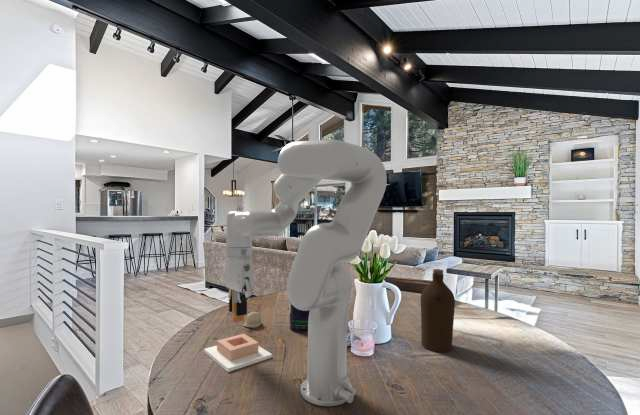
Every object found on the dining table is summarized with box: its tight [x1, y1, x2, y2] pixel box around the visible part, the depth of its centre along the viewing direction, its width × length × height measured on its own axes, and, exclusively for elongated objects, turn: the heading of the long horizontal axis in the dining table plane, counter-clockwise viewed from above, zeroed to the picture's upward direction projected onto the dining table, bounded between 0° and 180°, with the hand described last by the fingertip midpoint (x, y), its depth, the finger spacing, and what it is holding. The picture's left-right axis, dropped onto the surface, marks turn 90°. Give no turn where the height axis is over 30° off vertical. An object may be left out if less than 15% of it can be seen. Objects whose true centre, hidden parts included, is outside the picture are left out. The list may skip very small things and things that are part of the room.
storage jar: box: [289, 303, 310, 334], centre depth 125 cm, size 10×10×15 cm
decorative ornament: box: [242, 311, 263, 328], centre depth 126 cm, size 4×8×5 cm, turn 126°
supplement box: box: [231, 289, 245, 323], centre depth 102 cm, size 3×3×10 cm
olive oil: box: [420, 268, 456, 353], centre depth 111 cm, size 11×11×25 cm
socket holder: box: [203, 333, 273, 373], centre depth 102 cm, size 16×14×4 cm
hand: (237, 312), depth 102 cm, fingers closed on supplement box, 3 cm apart
